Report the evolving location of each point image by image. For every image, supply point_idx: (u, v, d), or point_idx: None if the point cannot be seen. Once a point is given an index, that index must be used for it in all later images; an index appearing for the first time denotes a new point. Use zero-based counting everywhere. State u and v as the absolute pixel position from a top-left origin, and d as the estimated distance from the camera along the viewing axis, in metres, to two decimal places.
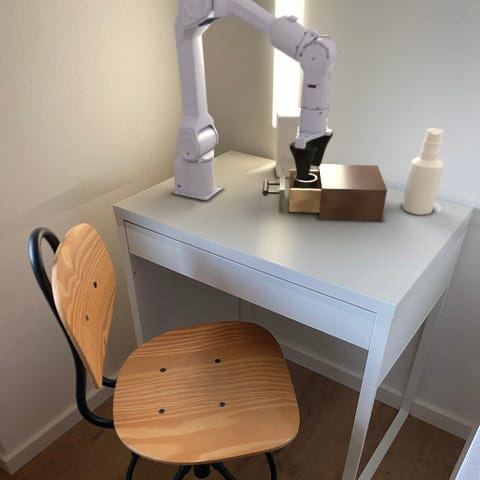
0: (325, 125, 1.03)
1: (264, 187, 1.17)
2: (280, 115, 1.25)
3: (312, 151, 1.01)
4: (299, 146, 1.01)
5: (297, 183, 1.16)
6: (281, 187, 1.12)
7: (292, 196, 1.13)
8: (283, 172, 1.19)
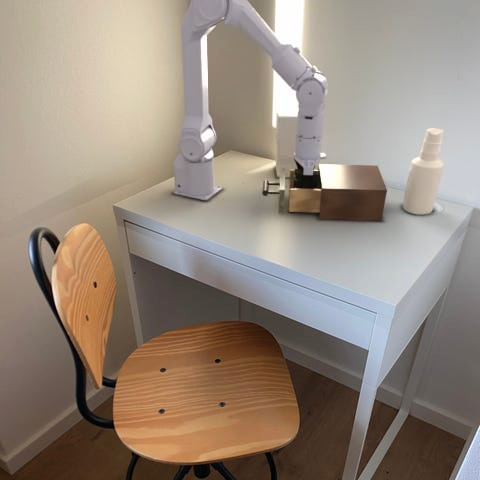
0: (320, 150, 1.12)
1: (264, 187, 1.17)
2: (280, 115, 1.25)
3: (318, 175, 1.10)
4: (308, 173, 1.08)
5: (297, 183, 1.16)
6: (281, 187, 1.12)
7: (292, 196, 1.13)
8: (283, 172, 1.19)
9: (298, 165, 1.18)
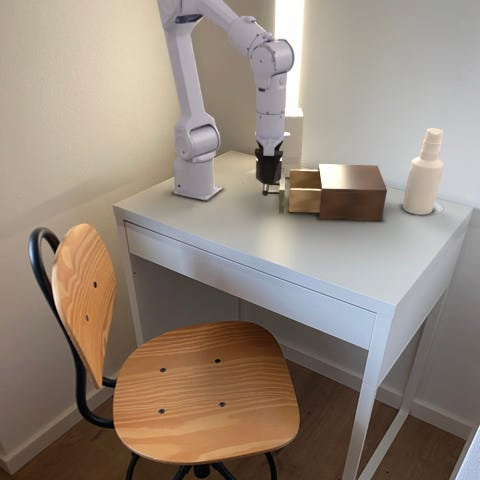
0: None
1: (264, 187, 1.17)
2: None
3: (280, 155, 0.99)
4: (268, 153, 0.97)
5: None
6: (281, 187, 1.12)
7: (292, 196, 1.13)
8: (283, 172, 1.19)
9: (261, 147, 1.06)
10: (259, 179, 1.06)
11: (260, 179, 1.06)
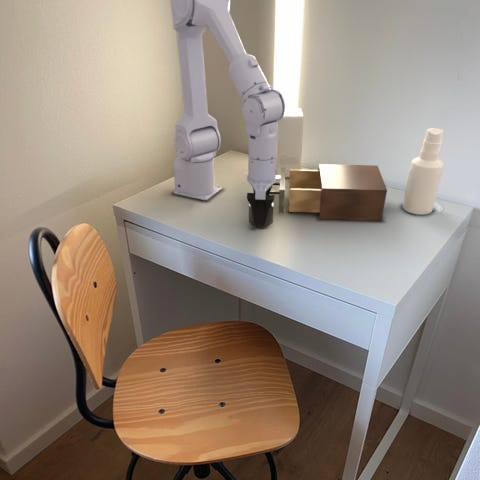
0: (275, 172, 1.05)
1: None
2: None
3: (272, 200, 1.03)
4: (260, 197, 1.01)
5: None
6: (281, 187, 1.12)
7: (292, 196, 1.13)
8: (283, 172, 1.19)
9: None
10: (252, 223, 1.10)
11: (253, 223, 1.10)
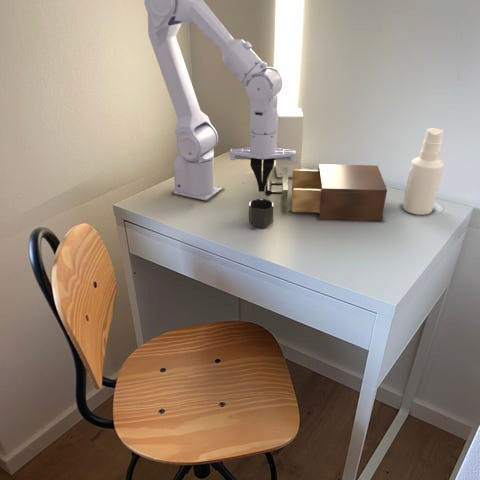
0: None
1: (267, 187, 1.17)
2: (280, 115, 1.25)
3: None
4: None
5: (252, 211, 1.09)
6: (284, 187, 1.12)
7: (295, 196, 1.13)
8: (286, 172, 1.19)
9: (261, 170, 1.14)
10: (252, 223, 1.10)
11: (253, 223, 1.10)
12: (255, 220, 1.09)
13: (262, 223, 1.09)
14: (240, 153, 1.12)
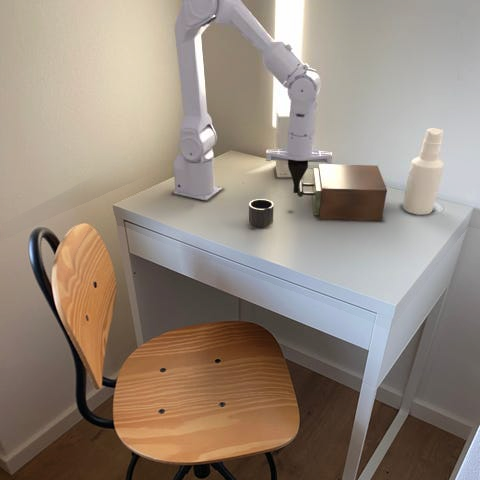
0: None
1: (299, 188, 1.16)
2: (280, 115, 1.25)
3: None
4: None
5: (252, 211, 1.09)
6: (317, 188, 1.12)
7: None
8: (317, 173, 1.19)
9: None
10: (252, 223, 1.10)
11: (253, 223, 1.10)
12: (255, 220, 1.09)
13: (262, 223, 1.09)
14: (277, 154, 1.12)
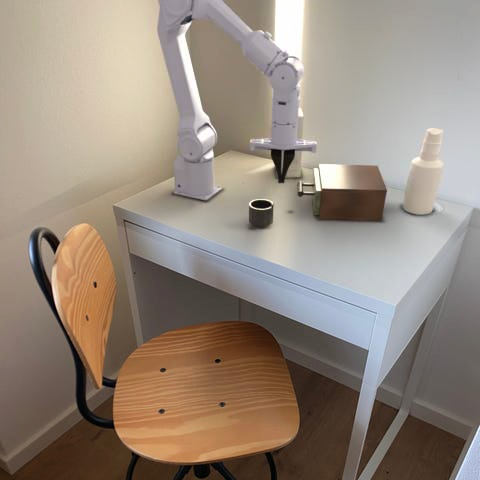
0: None
1: (299, 188, 1.16)
2: None
3: None
4: (315, 149, 1.12)
5: (252, 211, 1.09)
6: (317, 188, 1.12)
7: None
8: (317, 173, 1.19)
9: (281, 161, 1.12)
10: (252, 223, 1.10)
11: (253, 223, 1.10)
12: (255, 220, 1.09)
13: (262, 223, 1.09)
14: (261, 143, 1.11)
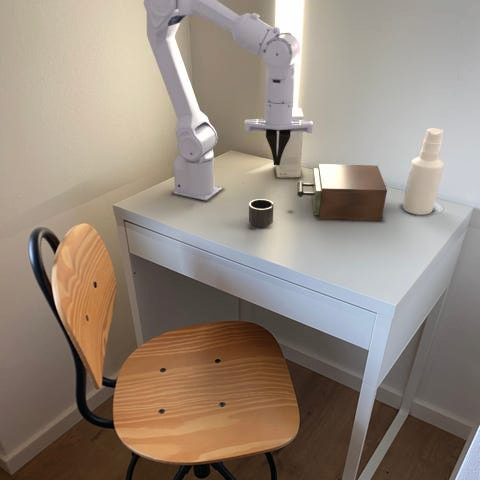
0: None
1: (299, 188, 1.16)
2: None
3: None
4: None
5: (252, 211, 1.09)
6: (317, 188, 1.12)
7: None
8: (317, 173, 1.19)
9: (276, 142, 1.10)
10: (252, 223, 1.10)
11: (253, 223, 1.10)
12: (255, 220, 1.09)
13: (262, 223, 1.09)
14: (255, 124, 1.08)
